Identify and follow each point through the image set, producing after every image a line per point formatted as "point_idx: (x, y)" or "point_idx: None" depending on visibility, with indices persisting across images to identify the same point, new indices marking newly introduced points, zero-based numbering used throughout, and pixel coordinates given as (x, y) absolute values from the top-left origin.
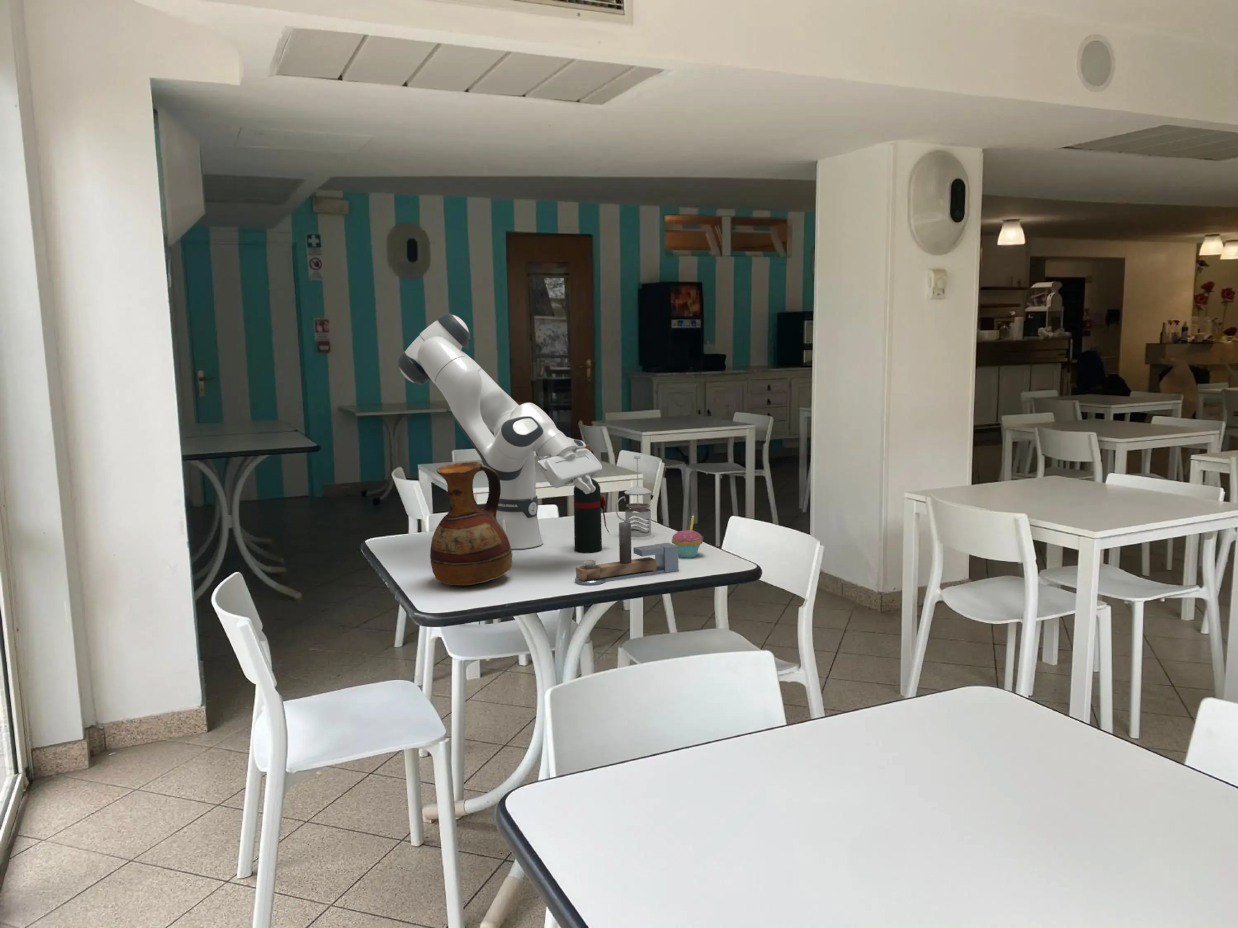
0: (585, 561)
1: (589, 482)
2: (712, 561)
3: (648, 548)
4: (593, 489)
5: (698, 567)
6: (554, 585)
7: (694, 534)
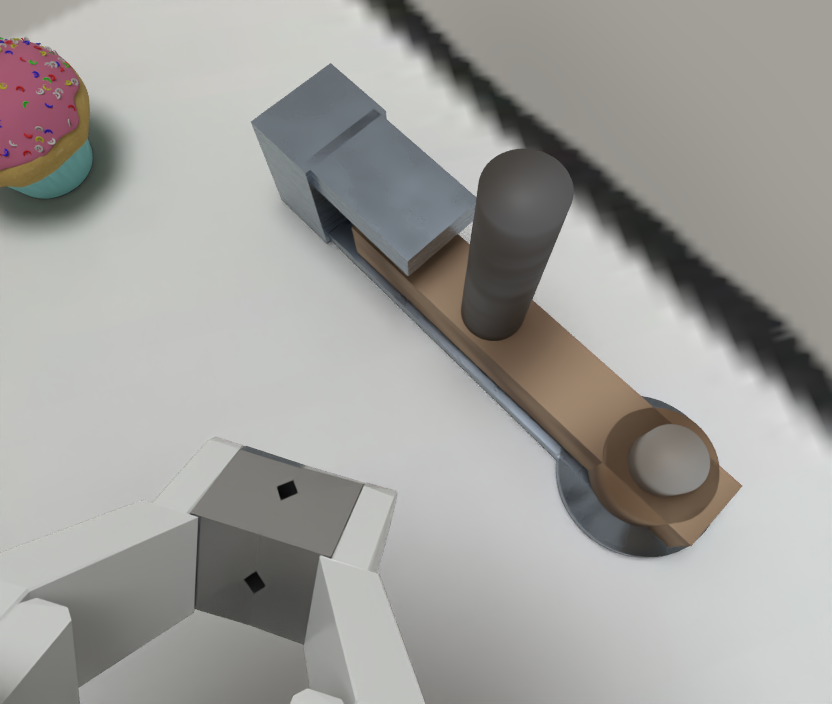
0: (693, 481)
1: (146, 554)
2: (160, 60)
3: (417, 181)
4: (278, 459)
5: (272, 90)
6: (776, 643)
7: (22, 49)
